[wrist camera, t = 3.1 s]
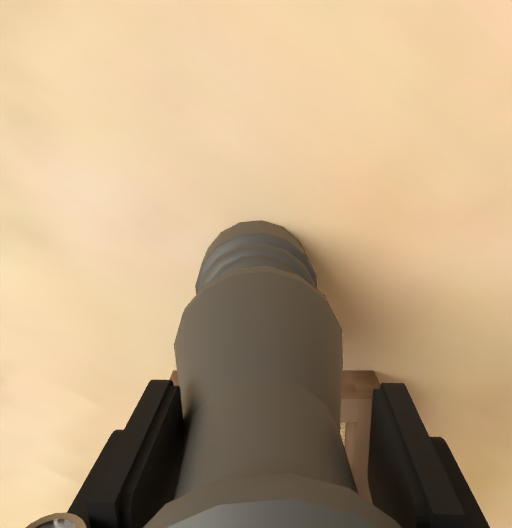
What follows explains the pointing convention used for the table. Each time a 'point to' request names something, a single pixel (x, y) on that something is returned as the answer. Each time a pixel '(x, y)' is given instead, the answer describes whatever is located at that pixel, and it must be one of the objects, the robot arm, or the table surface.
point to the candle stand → (353, 422)
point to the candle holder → (262, 395)
